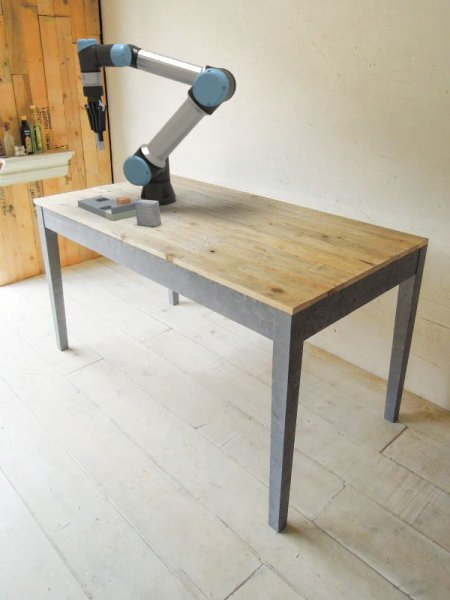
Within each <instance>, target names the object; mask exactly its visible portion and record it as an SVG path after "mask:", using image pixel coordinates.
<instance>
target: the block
mask: <svg viewBox="0 0 450 600" xmlns="http://www.w3.org/2000/svg"><path fill="white" fill-rule="evenodd" d="M115 201H117V206H120V205H125V204H129V203H132V201H131V198H130V197H127V196H122V197H117V198H116V199H115Z"/></svg>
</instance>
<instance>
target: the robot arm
mask: <svg viewBox="0 0 450 600" xmlns="http://www.w3.org/2000/svg"><path fill="white" fill-rule="evenodd" d="M76 49H77V50H76V51H77V52H76V53H77V58H78V64H79V71H80V79H81V84H82V85H83V86H82V94H83V96H84V97H86V99H87V100H86V101H87V103H85V104H83V105H84V108H85V110H86V115H87V119H88V122H89V123H88V124H89V127H90V131H93V133H94V137H95V146H96V151H103V150H106V147H105V138H104V132H106V131H107V108H108V107H107V105H106V104H105V105H104V103H103V100H102V97H104V95H105V93H104V92H105V91H104V86H103V85H102V84H103V77H102V70H101V69H102V68H125V67H129V68H132V69H135V70H140V71H143V72H145V73H149V74H151V75H154V76H155V75H156V76H158V77H162V78H165V79H168V80H172V81H175V82H176V83H180V84H184V85H187V86H190V88H189V89H188V90H187V97H186V99H185V100H184V101H183V103H182V104H181V105H180V106H179V108H177V110H176V111H175V112H174V113H173V114H172V116H171V117H169V119H168V120H167V121H166V122H165V124H163V126H162V127H161V128H160V130H158V132H157V133H156V134H155V135H154V136H153V137H152V139H151V140H150V141H149V142H148V143H143V144H141V145H140V146H139V148H138V149H136V151H135V152H134V153H133V155H130V156H128V157H127V158H126V159H125V160H124V162H123V164H122V171H123V175H124V177H125V179H126V180H127V182H129V183H130V184H131V185H133V186H137V187H141V186H142V188H141V192H140V197H139V198H140V199H139V200H153V201H159V206H161V205H169V204H172V203H174V202H176V201H177V196H176V192H175V190H174V188H173V185H172V182H171V174H170V173H171V171H170V169H171V168H170V158H169V157H170V155H172V153H173V151H174V150H175V149H176V148H177V147H178V146H180V144H181V143H182V141H184V140H185V138H186V137H187V136H189V134H190V133H191V132H192V130H194V128H195V127H196V126H197V125H198V124H199V123H200V122H201V121H202V120H203V118H205V116H212V115H213V114H214V112H215V111H217V110H218V108H220V106H221V105H222V104H223V103H224V102H225V103H226V102H227V101H229V100H231V99H232V98H233V96H234V95H235V94H236V89H237V80H236V77H235V76H234V74H233V73H232V72H231V71H230V70H228V69H226V68H224V67H215V66H212V65H211V66H210V65H208V64H207V65H205V66H201V65H197V64H194V63H191V62H188V61H184V60H181V59H178V58H175V57H170V56H169V55H164V54H161V53H157V52H156V51H152V50H148V49H145V48H141V47H139V46H137V45H135V44H130V43H127V44H126V43H118V42H117V43H109V44H108V43H106V44H100V43H99V42H98V40H97V39H96V38H78V39H77V41H76Z"/></svg>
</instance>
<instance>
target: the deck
mask: <svg viewBox="0 0 450 600" xmlns="http://www.w3.org/2000/svg"><path fill="white" fill-rule="evenodd" d="M135 202H136V201H135ZM135 202H134V201H133V202H131V203H129V204H125V205H120V206H117V201H116V200H114V199H111V198H108V197H106V196H103V195H99V196H95V197H89V198H84V199H80V200H79V199H78V200H77V204H78V205H77V206H78V207H79V208H81V209H83V210H86V211H89V212H91V213H94V214H95V215H98V216H101V217H102V218H105V219H107V220H110V221H113V222H116V221H120V220H124V219H129V218H131V217H136V209H135Z"/></svg>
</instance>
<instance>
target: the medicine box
mask: <svg viewBox="0 0 450 600" xmlns="http://www.w3.org/2000/svg"><path fill="white" fill-rule="evenodd" d="M135 209H136V216H135V217H136V223H137V226H145V227H157V226H159V225H160V224H162V221H161V220H162V219H161V211H160V205H159V201H153V200H141V199H139V200H137V201H135Z"/></svg>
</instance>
